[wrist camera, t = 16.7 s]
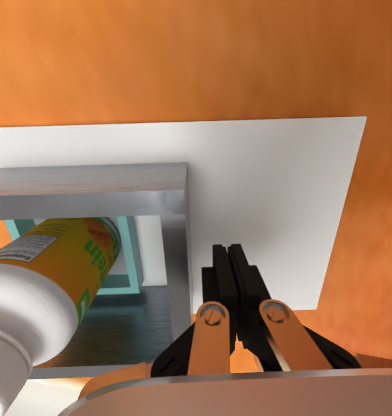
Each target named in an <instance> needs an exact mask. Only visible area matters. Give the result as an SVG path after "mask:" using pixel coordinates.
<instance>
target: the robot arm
mask: <svg viewBox="0 0 392 416" xmlns="http://www.w3.org/2000/svg"><path fill="white" fill-rule="evenodd" d="M212 255H213V267H201V274H202V296H203V304H202V305H201V306H200V307H199V308H198V311H197V315H196V321H195V322H194V323H193V324H192V325H191V326H190V327H189V328H188V329H187V330H186V331H184V332H183V333H182V334H181V335H180V336H179V337H178V338H177V339H176V340H175V341H174V342H173V343H172V344H171V345H170V346H169V347H168V348H167V349H165V350H164V351H163V352H162V353H161V354H160V355H159V356H158V357H157V358H156V360H155V361H154V362H152V363H148V364H146V362H142V363H139V364H135V365H132V366H129V367H125V368H122V369H118V370H115V371H111V372H108V373H104V374H101V375H98V376H96V377H94V378H92V379H91V380H90V381H89V382H88V383H86V385H85V386H84V388H83V389H82V390H81V392H80V395H79V398H78V400H77V401H76V402H74V403H72V404H71V405H70V406H68V407H67V408H66V409H65V410H63V411H62V412H61V413H60V414H59V415H58V416H392V360H390V359H385V358H379V357H374V356H368V355H363V354H357V353H356V354H355V356H353V355H351V354H350V353H349V352H347V351H346V350H345V349H343V348H341V347H340V346H338V345H336V344H334V343H333V342H331V341H329V340H328V339H326V338H324V337H322V336H321V335H319V334H317V333H316V332H314V331H312V330H310V329H309V328H307V327H305V326H303V325H302V324H301V323H300V321H299V320H298V318H297V317H296V316H295V314H294V313H293V311H292V310H291V309H290V308H289V307H288V306H287V305H286V304H285V303H283V302H281V301H279V300H275V299H272V298H271V296H270V294H269V292H268V289H267V287H266V285H265V283H264V281H263V278H262V276H261V274H260V272H259V269H258V267H257V266H256V265H249V264H248V261H247V259H246V256H245V254H244V251H243V249H242V246H241V244H231V246H228V248H227V251H226V247H222V244H215V245H213V246H212ZM236 332H237V337H238V341H242V343H243V347H244V349H248V350H249V351H251V352H252V353H253V354H254V358H255V362H256V364H257V367H258V369H259V372H254V373H230V355H231V354H232V353H233V351H234V350H235V341H236Z"/></svg>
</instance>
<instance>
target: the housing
mask: <svg viewBox="0 0 392 416" xmlns="http://www.w3.org/2000/svg"><path fill="white" fill-rule="evenodd" d="M142 215H160V220H161V230H162V239H163V249H164V258H165V268H166V277H167V286H153V287H141V290H140V293H131V294H102V295H96V296H95V298H94V299H93V301H92V303H91V305H90V306H89V308H88V310H87V312H86V313H85V315H84V317H83V319H82V321H81V323H80V324H79V326H78V328H77V330H76V331H75V333H74V335H73V336H72V338H71V340H70V341H69V343H68V344H67V346H66V347H65V348H64V349H63V350H62V351H61V352H60V353H59V354H58V355H56V356H55V357H53V358H52V359H50V360H48V361H46V362H44V363H41V364H39V365H36V366H33V367H32V372H31V374H30V376H29V377H28V379H50V378H77V377H96V376H98V375H101V374H104V373H108V372H111V371H115V370H118V369H122V368H125V367H129V366H132V365H135V364H139V363H142V362H146V364H148V363H152V362H154V361H155V360H156V358H157V357H158V356H159V355H160V354H161V353H162V352H163V351H164V350H165V349H167V348H168V347H169V346H170V345H171V344H172V343H173V342H174V341H175V340H176V339H177V338H178V337H179V336H180V335H181V334H182V333H183V332H184V331H186V330H187V329H188V328H189V327H190V326H191V325H192V324H193V278H192V255H191V233H190V210H189V187H188V164H187V162H175V163H143V164H112V165H80V166H48V167H17V168H0V220H21V219H51V218H81V217H112V216H142Z"/></svg>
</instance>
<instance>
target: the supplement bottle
mask: <svg viewBox="0 0 392 416" xmlns="http://www.w3.org/2000/svg"><path fill="white" fill-rule="evenodd" d="M119 251H120V239H119V235H118V233H117V231H116V229H115V228H114V226H113V225H112V224H111V223H110V222H109V221H108V220H107V219H106V218H105V217H81V218H51V219H46V220H44V221H43V222H41V223H40V224H38V225H37V226H35V227H34V228H32V229H31V230H29V231H27V232H26V233H24V234H23V235H21V236H20V237H18V238H17V239H15V240H14V241H12V242H11V243H9V244H8V245H6V246H5V247H3V248H2V249H0V416H4V414H5V413H6V412H7V410H8V408H9V407H10V405H11V404H12V402H13V401H14V400H15V398H16V397H17V395H18V394H19V392H20V390H21V389H22V388H23V386H24V385H25V383H26V381H27V379H28V377H29V376H30V374H31V372H32V367H33V366H36V365H39V364H41V363H44V362H46V361H48V360H50V359H52V358H53V357H55V356H56V355H58V354H59V353H60V352H61V351H62V350H63V349H64V348H65V347H66V346H67V344H68V343H69V341H70V340H71V338H72V336H73V335H74V333H75V331H76V330H77V328H78V326H79V324H80V323H81V321H82V319H83V317H84V315H85V313H86V312H87V310H88V308H89V306H90V305H91V303H92V301H93V299H94V298H95V296H96V294H97V292H98V291H99V289H100V287H101V285H102V284H103V282H104V280H105V278H106V277H107V275H108V273H109V271H110V270H111V268H112V266H113V264H114V263H115V261H116V259H117V257H118V255H119Z"/></svg>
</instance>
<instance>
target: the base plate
mask: <svg viewBox="0 0 392 416" xmlns="http://www.w3.org/2000/svg"><path fill="white" fill-rule="evenodd" d="M366 119H367V116H362V117H330V118H297V119H264V120H232V121H199V122H166V123H134V124H101V125H69V126H36V127H3V128H0V168H17V167H48V166H80V165H112V164H143V163H175V162H187V164H188V187H189V210H190V233H191V255H192V278H193V314H197V311H198V308H199V307H200V306H201V305H202V304H203V296H202V274H201V267H213V255H212V246H213V245H215V244H222V247H226V251H227V248H228V246H231V244H241V246H242V249H243V251H244V254H245V256H246V259H247V261H248V264H249V265H256V266H257V267H258V269H259V272H260V274H261V276H262V278H263V281H264V283H265V285H266V287H267V289H268V292H269V294H270V296H271V298H272V299H275V300H279V301H281V302H283V303H285V304H286V305H287V306H288V307H289V308H290V309H291V310H311V309H316V308H317V304H318V300H319V297H320V293H321V289H322V285H323V282H324V278H325V274H326V270H327V266H328V263H329V259H330V255H331V251H332V248H333V244H334V240H335V236H336V233H337V229H338V225H339V221H340V217H341V214H342V210H343V206H344V202H345V199H346V195H347V191H348V187H349V184H350V180H351V176H352V172H353V168H354V165H355V161H356V157H357V153H358V150H359V146H360V142H361V138H362V135H363V131H364V127H365V123H366ZM105 218H106V219H107V220H108V221H109V222H110V223H111V224H112V225H113V226H114V228H115V229H116V231H117V233H118V235H119V239H120V251H119V255H118V257H117V259H116V261H115V263H114V264H113V266H112V268H111V270H110V271H109V273H108V275H107V277H106V278H105V280H104V282H103V284H102V285H101V287H100V289H99V291H98V292H97V294H96V295H102V294H131V293H140V290H141V287H153V286H167V277H166V268H165V258H164V249H163V239H162V230H161V220H160V215H142V216H112V217H105ZM44 220H46V219H21V220H4V222H5V224H6V226H7V229H8V231H9V233H10V236H11V238H12V240H13V241H14V240H15V239H17V238H18V237H20V236H21V235H23V234H24V233H26V232H27V231H29V230H31V229H32V228H34V227H35V226H37V225H38V224H40V223H41V222H43V221H44Z"/></svg>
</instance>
